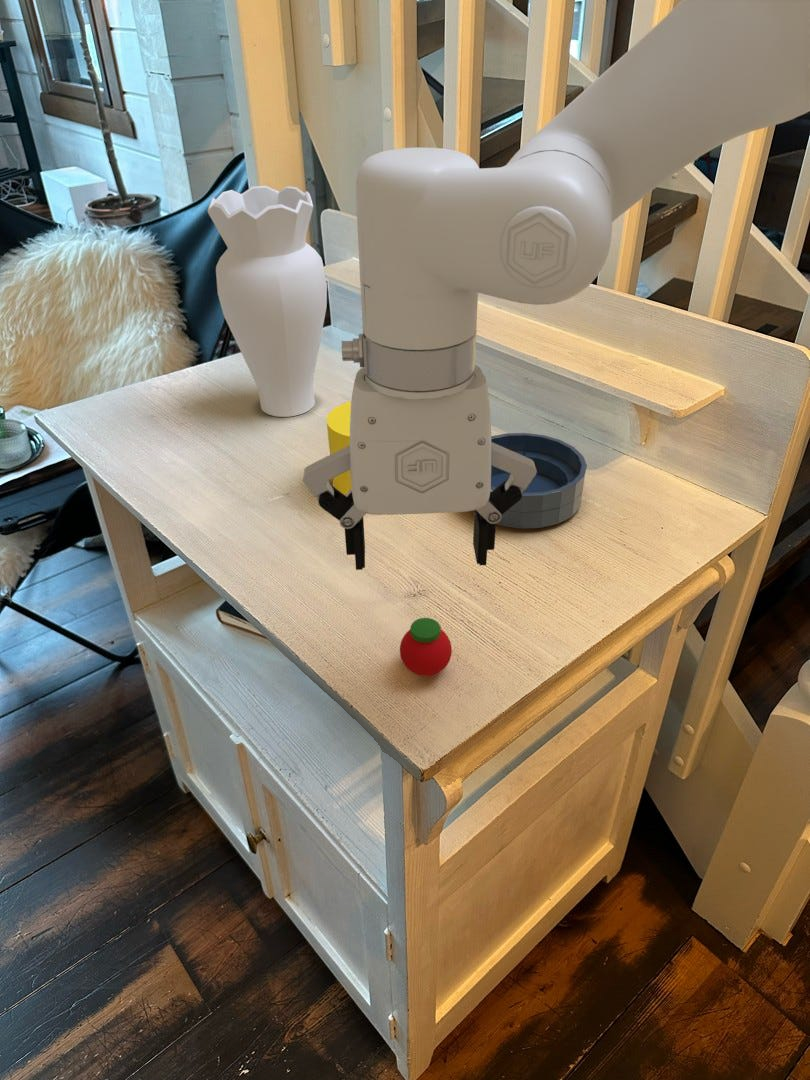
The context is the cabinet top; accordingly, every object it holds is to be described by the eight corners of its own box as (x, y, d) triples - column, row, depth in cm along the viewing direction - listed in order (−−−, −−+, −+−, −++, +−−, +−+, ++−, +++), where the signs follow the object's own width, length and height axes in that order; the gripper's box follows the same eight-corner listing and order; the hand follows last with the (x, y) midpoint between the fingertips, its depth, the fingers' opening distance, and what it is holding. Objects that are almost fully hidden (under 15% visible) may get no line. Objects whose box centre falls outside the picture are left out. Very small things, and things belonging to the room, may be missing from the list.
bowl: (588, 476, 94) (593, 440, 91) (572, 541, 83) (577, 503, 80) (476, 461, 98) (477, 426, 95) (448, 522, 87) (448, 485, 84)
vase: (222, 424, 108) (181, 208, 91) (259, 381, 120) (229, 182, 103) (320, 432, 106) (296, 210, 88) (348, 387, 117) (332, 183, 100)
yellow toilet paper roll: (357, 517, 88) (352, 446, 83) (319, 480, 95) (312, 412, 90) (429, 491, 92) (428, 422, 87) (388, 457, 99) (384, 391, 94)
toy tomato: (457, 655, 70) (457, 615, 67) (443, 692, 66) (443, 650, 63) (409, 646, 71) (408, 605, 68) (393, 681, 67) (391, 640, 64)
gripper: (285, 383, 48) (309, 591, 58) (558, 375, 48) (534, 583, 58) (295, 338, 54) (315, 533, 64) (537, 331, 54) (519, 526, 64)
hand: (420, 557), depth 61 cm, fingers open, 9 cm apart
